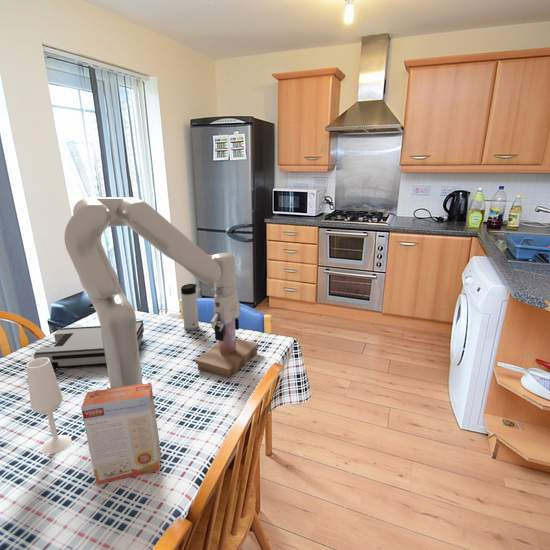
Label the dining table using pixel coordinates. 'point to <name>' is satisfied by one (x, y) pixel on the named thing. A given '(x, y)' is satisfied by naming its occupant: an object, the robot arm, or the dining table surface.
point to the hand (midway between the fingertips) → (227, 334)
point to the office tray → (79, 347)
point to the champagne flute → (46, 399)
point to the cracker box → (122, 432)
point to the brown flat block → (227, 359)
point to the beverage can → (228, 338)
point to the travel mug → (189, 307)
